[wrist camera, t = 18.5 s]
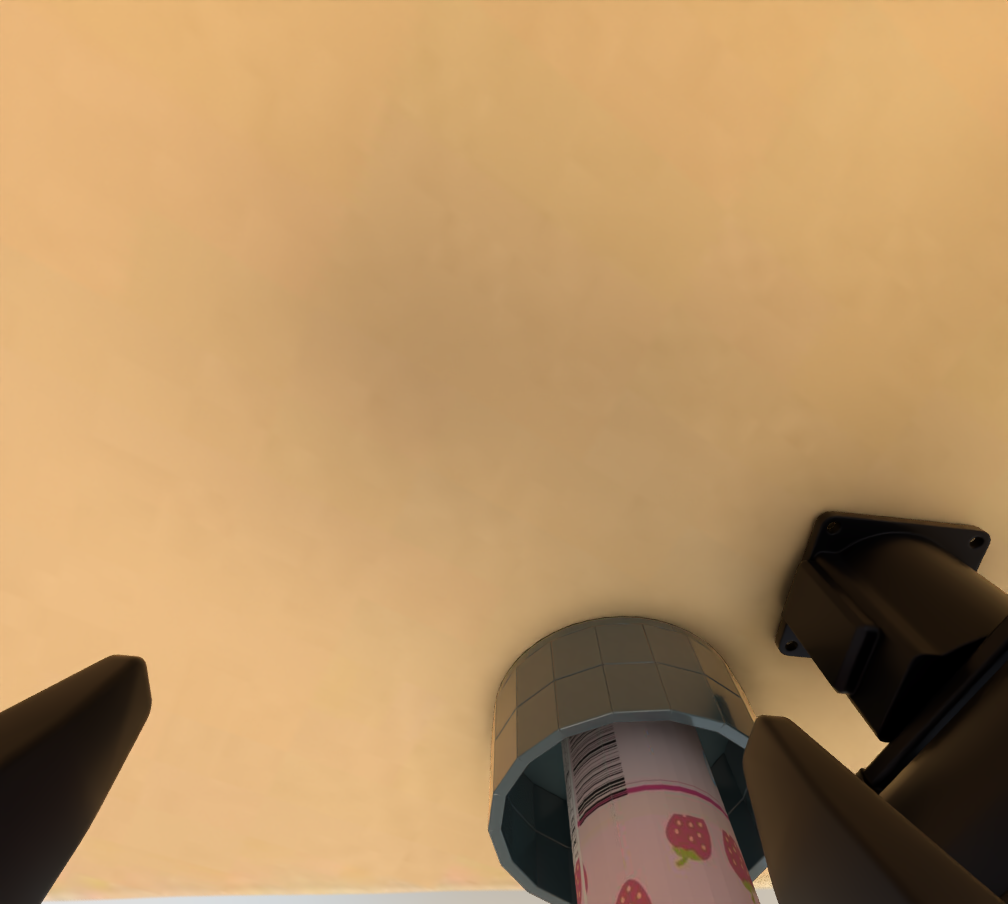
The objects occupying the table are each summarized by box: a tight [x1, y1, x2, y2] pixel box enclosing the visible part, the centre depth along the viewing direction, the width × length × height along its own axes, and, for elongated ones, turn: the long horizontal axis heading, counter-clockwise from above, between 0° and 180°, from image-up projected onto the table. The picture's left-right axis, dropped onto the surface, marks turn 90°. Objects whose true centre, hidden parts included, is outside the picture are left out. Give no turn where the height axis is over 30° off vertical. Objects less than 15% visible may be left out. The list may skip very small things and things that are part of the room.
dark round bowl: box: [488, 617, 767, 904], centre depth 23 cm, size 11×11×5 cm
